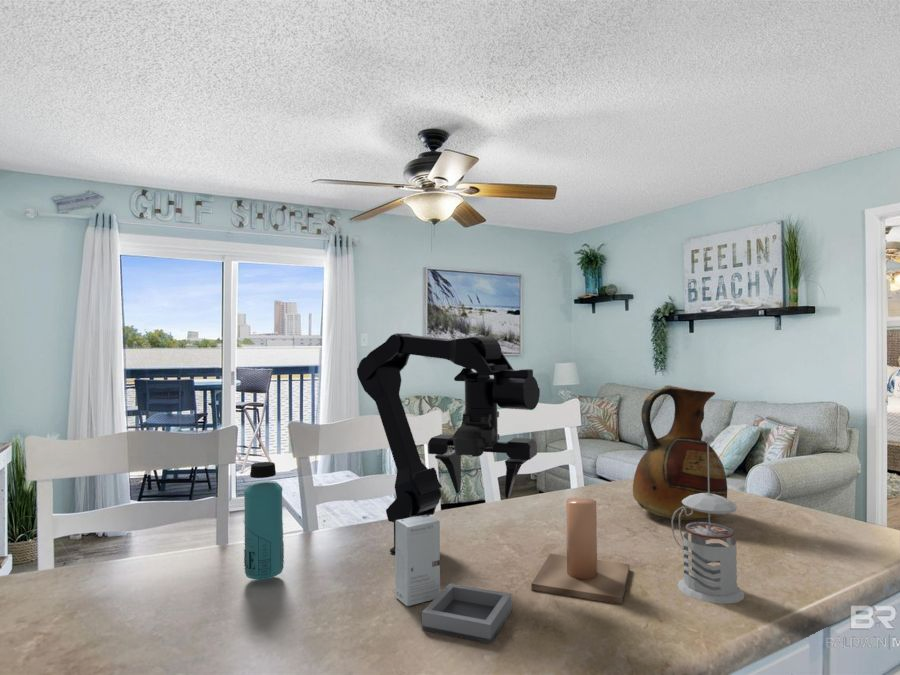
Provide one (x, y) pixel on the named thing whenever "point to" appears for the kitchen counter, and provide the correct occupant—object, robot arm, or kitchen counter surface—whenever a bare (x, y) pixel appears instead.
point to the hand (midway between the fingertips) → (482, 495)
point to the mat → (583, 580)
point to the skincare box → (417, 559)
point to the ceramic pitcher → (677, 458)
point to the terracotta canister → (581, 537)
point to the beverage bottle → (263, 524)
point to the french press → (709, 550)
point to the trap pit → (467, 613)
